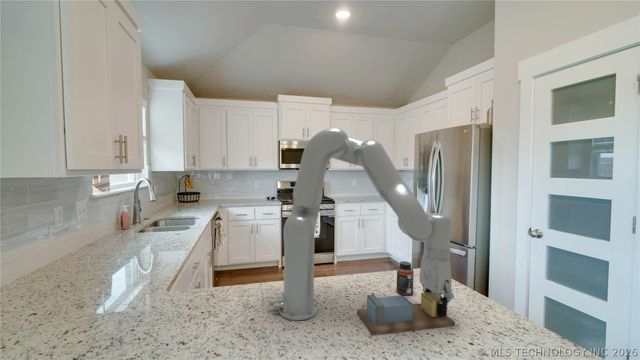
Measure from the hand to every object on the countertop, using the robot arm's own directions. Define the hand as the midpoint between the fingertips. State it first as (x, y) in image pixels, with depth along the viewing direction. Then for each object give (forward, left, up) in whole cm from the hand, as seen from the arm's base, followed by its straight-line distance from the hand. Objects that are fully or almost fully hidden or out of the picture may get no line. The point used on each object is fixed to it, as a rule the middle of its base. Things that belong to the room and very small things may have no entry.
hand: (434, 309), depth 85 cm
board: (-11, 0, -2) cm, 11 cm away
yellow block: (-1, 0, -1) cm, 1 cm away
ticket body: (-16, 0, -1) cm, 16 cm away
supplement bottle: (-1, +17, -2) cm, 17 cm away
